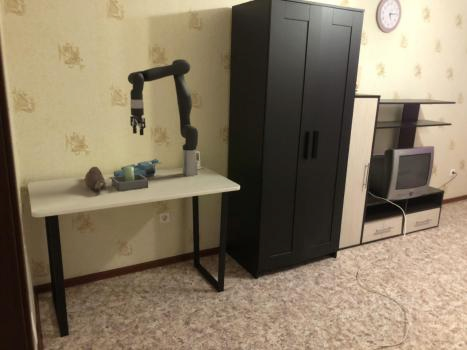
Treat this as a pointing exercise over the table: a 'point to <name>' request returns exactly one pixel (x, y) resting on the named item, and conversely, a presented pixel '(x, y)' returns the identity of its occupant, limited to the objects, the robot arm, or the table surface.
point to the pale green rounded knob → (129, 173)
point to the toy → (140, 169)
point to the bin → (129, 183)
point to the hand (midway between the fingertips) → (138, 134)
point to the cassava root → (95, 179)
